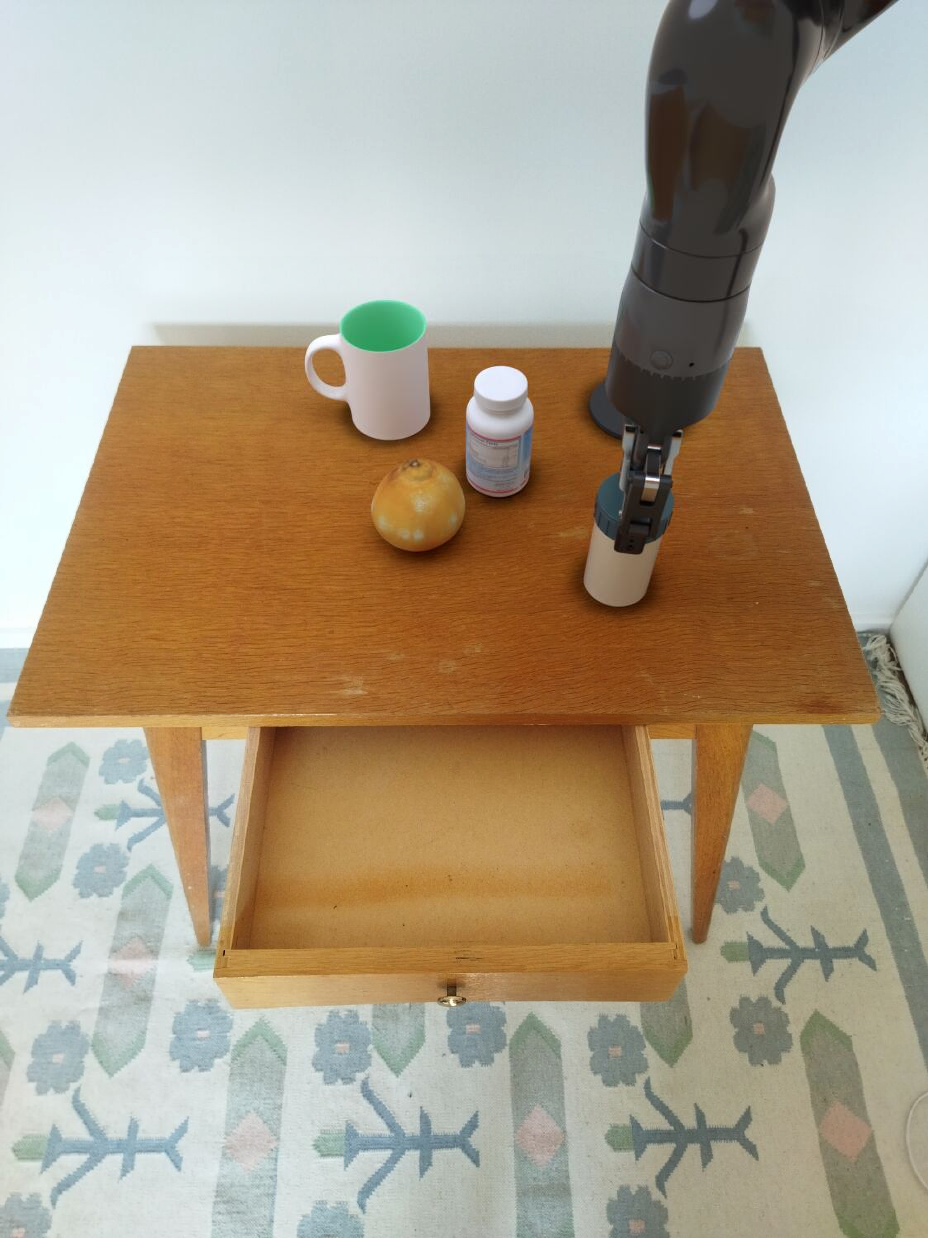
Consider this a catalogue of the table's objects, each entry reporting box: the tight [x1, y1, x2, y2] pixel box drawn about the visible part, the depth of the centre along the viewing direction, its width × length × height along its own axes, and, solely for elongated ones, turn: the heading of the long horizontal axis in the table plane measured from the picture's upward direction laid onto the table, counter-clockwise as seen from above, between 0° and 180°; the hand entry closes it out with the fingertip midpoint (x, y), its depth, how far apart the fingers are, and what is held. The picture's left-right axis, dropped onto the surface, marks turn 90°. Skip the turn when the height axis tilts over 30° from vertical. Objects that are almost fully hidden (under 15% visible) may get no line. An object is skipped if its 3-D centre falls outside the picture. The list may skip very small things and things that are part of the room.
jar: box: [583, 519, 664, 608], centre depth 68 cm, size 6×6×10 cm
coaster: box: [588, 380, 624, 440], centre depth 85 cm, size 10×10×1 cm
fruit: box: [370, 457, 466, 552], centre depth 73 cm, size 8×8×8 cm
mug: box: [304, 299, 431, 441], centre depth 80 cm, size 12×8×10 cm, turn 92°
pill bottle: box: [465, 365, 535, 498], centre depth 75 cm, size 6×6×11 cm
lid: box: [592, 471, 675, 544], centre depth 64 cm, size 6×6×2 cm
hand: (629, 514), depth 65 cm, fingers open, 7 cm apart
